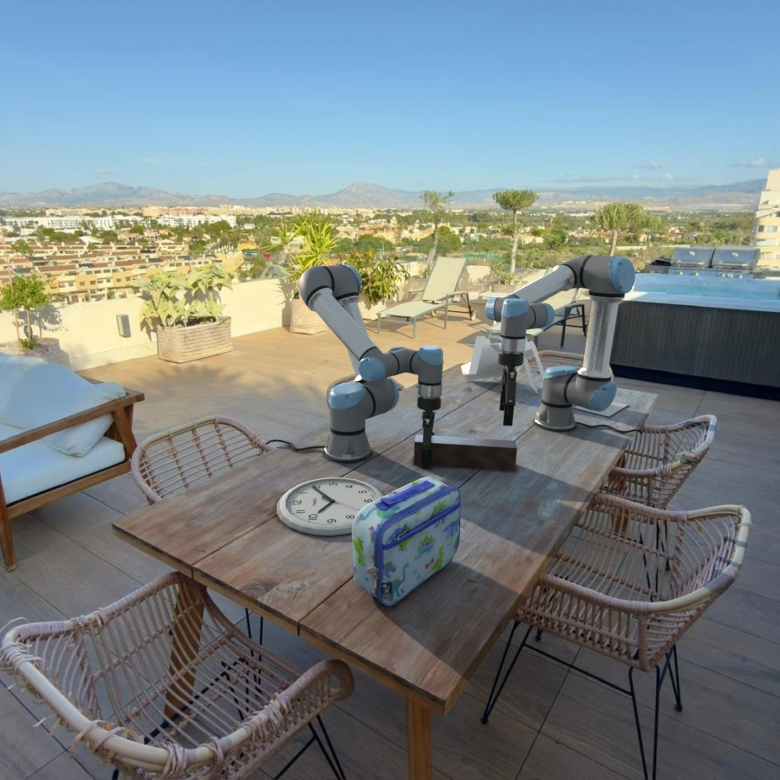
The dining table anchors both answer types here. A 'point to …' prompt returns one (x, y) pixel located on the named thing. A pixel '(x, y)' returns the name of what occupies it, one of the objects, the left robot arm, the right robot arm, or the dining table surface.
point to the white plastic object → (496, 361)
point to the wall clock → (325, 505)
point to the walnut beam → (468, 453)
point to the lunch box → (405, 538)
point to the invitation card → (609, 411)
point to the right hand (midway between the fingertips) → (505, 417)
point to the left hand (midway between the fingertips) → (426, 460)
